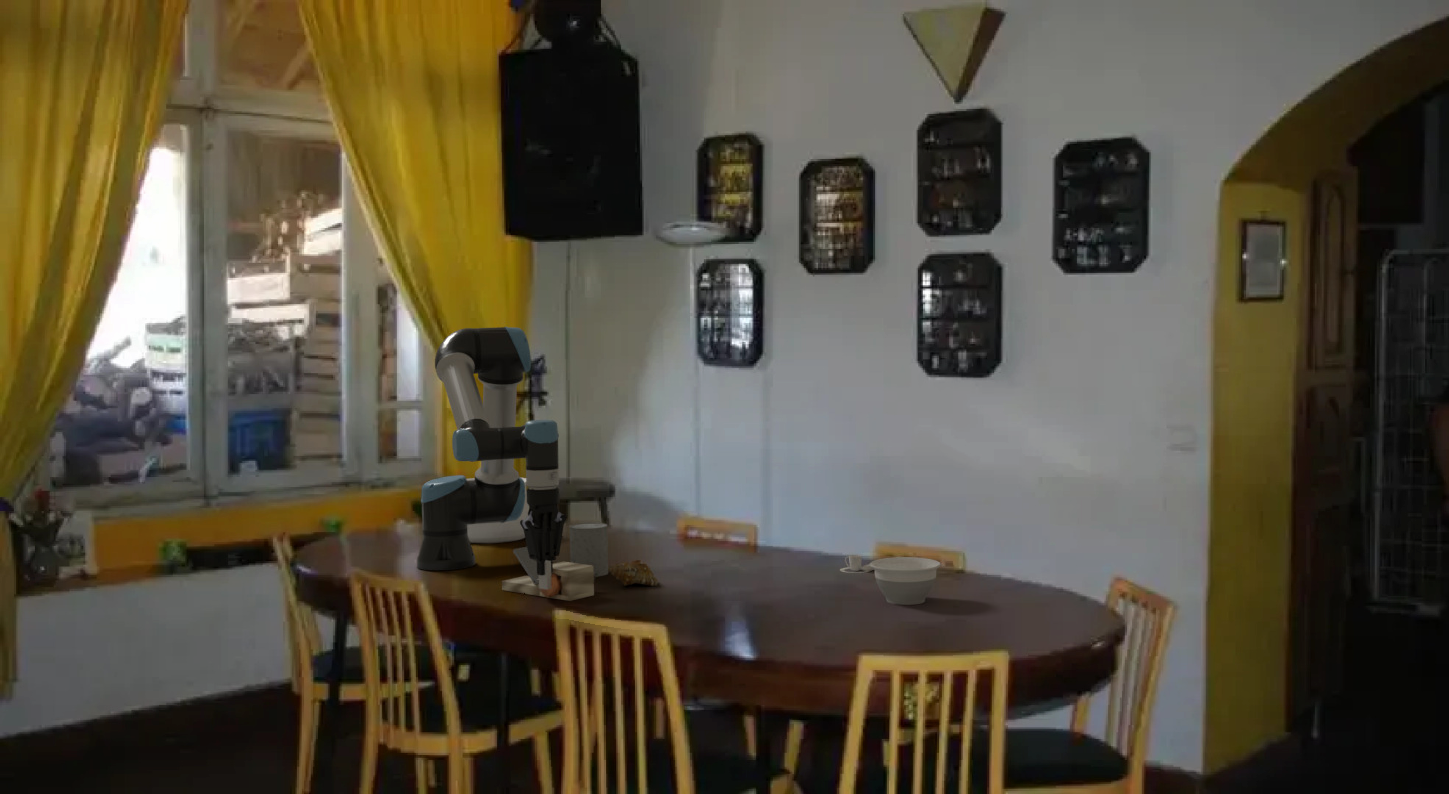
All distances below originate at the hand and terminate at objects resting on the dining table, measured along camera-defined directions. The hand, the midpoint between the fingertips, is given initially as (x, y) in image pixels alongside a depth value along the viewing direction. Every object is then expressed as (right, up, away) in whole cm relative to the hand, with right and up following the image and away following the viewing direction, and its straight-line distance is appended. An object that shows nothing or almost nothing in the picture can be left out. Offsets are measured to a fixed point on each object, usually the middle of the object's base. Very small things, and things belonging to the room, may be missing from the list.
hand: (545, 588), depth 337 cm
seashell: (+20, -2, +16) cm, 26 cm away
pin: (+5, -2, +6) cm, 8 cm away
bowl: (+83, -2, -8) cm, 83 cm away
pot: (-27, +2, +92) cm, 96 cm away
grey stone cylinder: (+7, -1, +33) cm, 33 cm away
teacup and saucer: (+75, 0, +27) cm, 80 cm away
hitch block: (-1, -2, +10) cm, 10 cm away
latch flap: (-4, +4, +12) cm, 13 cm away
